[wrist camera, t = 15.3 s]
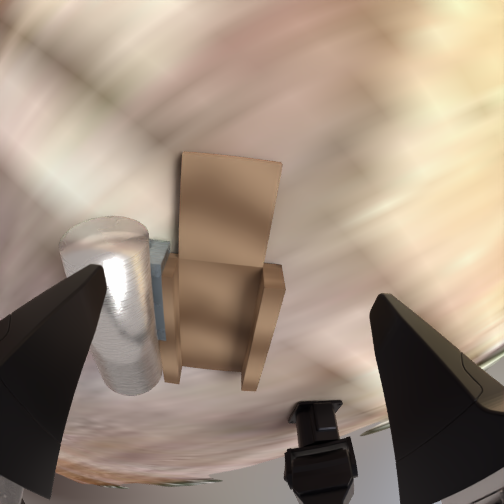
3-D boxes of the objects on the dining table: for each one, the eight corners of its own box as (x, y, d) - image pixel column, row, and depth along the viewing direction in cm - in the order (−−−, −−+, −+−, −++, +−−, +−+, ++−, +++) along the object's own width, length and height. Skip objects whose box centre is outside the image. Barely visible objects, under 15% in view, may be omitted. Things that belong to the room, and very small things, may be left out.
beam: (255, 368, 30) (255, 391, 28) (169, 359, 30) (164, 382, 27) (303, 166, 19) (312, 180, 16) (162, 150, 18) (148, 162, 15)
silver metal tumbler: (167, 349, 25) (155, 401, 20) (111, 339, 25) (93, 387, 20) (159, 220, 18) (130, 272, 13) (84, 213, 18) (42, 258, 13)
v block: (172, 316, 26) (166, 341, 23) (112, 307, 25) (102, 330, 23) (169, 241, 22) (160, 264, 19) (99, 234, 21) (83, 254, 19)
